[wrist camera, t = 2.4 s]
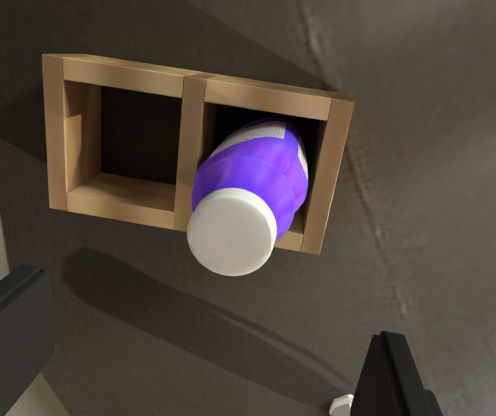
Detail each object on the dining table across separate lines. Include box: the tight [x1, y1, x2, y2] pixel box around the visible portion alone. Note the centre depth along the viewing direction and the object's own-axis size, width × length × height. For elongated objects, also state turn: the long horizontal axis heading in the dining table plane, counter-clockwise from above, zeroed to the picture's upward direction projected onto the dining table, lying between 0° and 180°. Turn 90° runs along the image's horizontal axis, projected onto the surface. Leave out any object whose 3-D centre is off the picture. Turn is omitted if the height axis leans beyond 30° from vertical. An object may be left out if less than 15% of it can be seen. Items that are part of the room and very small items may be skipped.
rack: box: [42, 54, 354, 255], centre depth 32 cm, size 22×12×6 cm, turn 82°
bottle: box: [187, 117, 308, 276], centre depth 26 cm, size 7×6×17 cm
